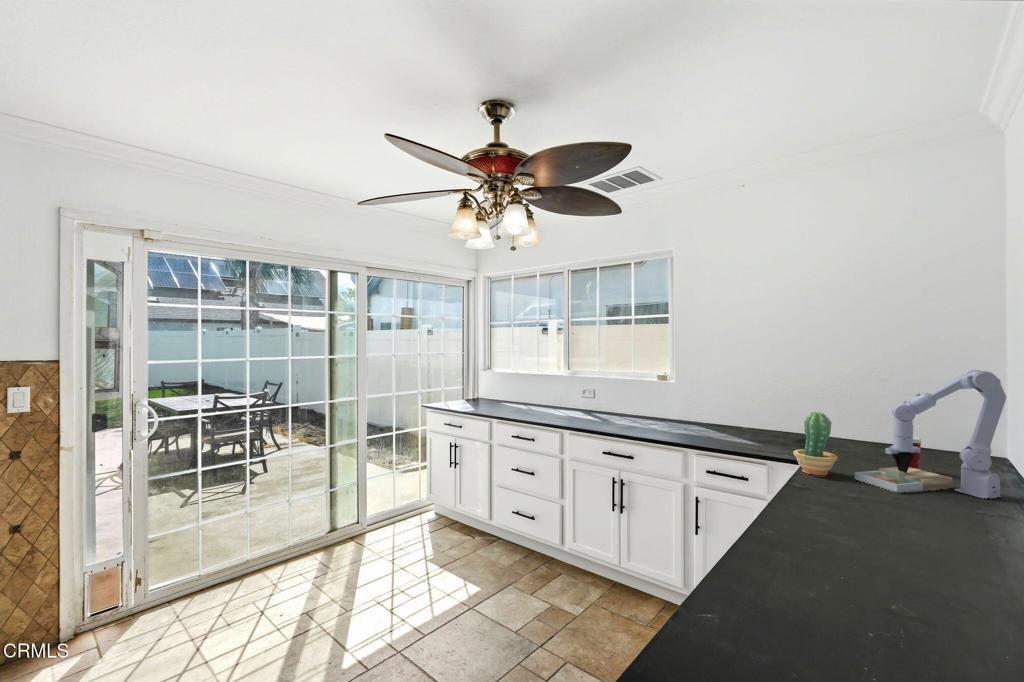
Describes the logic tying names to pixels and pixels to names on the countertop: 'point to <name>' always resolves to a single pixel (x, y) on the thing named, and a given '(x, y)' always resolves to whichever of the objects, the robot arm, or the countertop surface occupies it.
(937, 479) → the wooden board
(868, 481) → the box
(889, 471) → the sage tile
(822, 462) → the potted cactus
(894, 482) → the terracotta tile
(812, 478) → the countertop surface
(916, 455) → the paper cup
